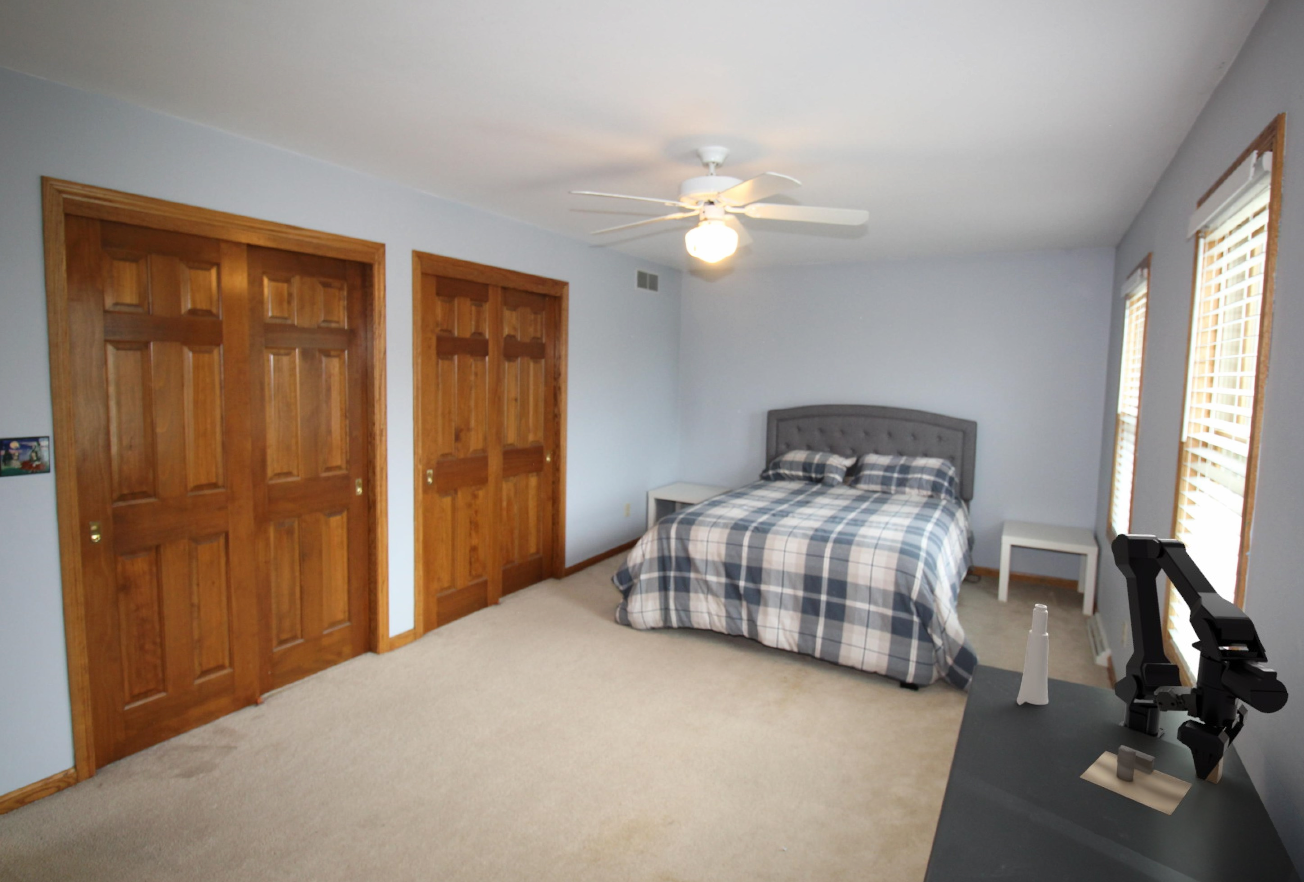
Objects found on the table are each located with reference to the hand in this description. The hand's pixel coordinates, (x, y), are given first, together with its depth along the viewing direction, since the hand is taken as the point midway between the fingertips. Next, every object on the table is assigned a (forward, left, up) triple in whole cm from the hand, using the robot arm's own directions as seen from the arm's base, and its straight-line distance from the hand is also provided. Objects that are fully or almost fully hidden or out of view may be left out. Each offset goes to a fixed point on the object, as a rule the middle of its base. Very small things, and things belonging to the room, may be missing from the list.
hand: (1208, 769), depth 121 cm
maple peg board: (+12, -7, -3) cm, 14 cm away
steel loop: (0, -4, -3) cm, 5 cm away
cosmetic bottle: (-6, -31, -3) cm, 32 cm away
